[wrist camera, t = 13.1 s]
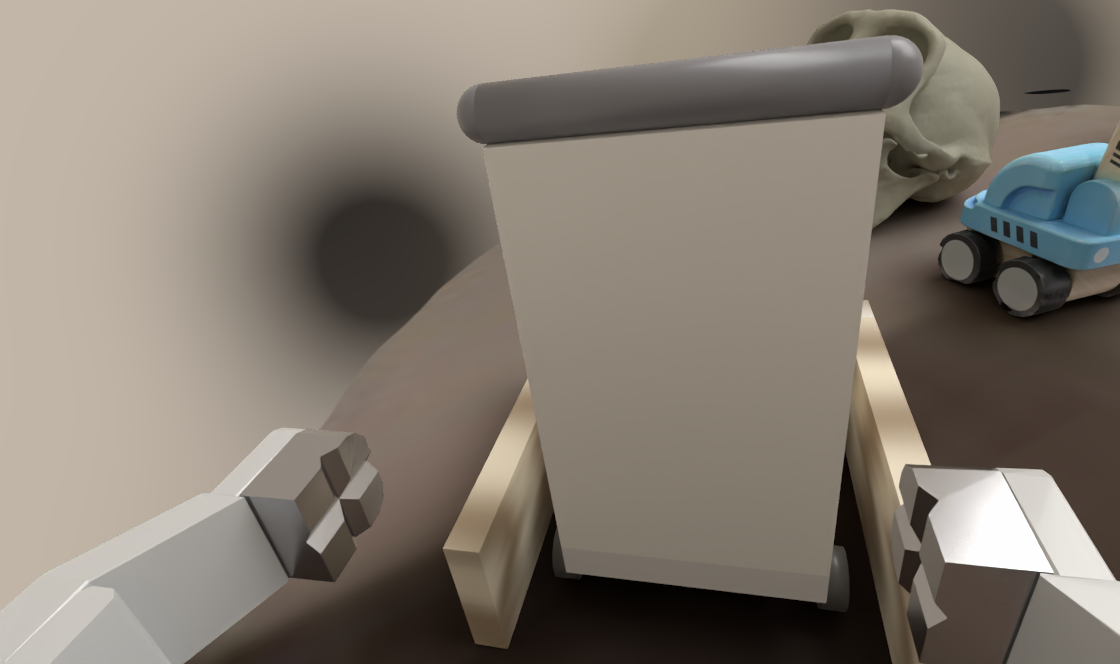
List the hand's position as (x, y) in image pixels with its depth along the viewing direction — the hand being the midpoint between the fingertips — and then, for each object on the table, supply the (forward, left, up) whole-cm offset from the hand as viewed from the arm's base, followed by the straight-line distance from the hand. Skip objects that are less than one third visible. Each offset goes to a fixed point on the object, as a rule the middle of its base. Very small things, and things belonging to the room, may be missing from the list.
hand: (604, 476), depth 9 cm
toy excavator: (+24, -38, -18) cm, 48 cm away
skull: (+48, -36, -18) cm, 63 cm away
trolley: (+14, -7, -17) cm, 24 cm away
